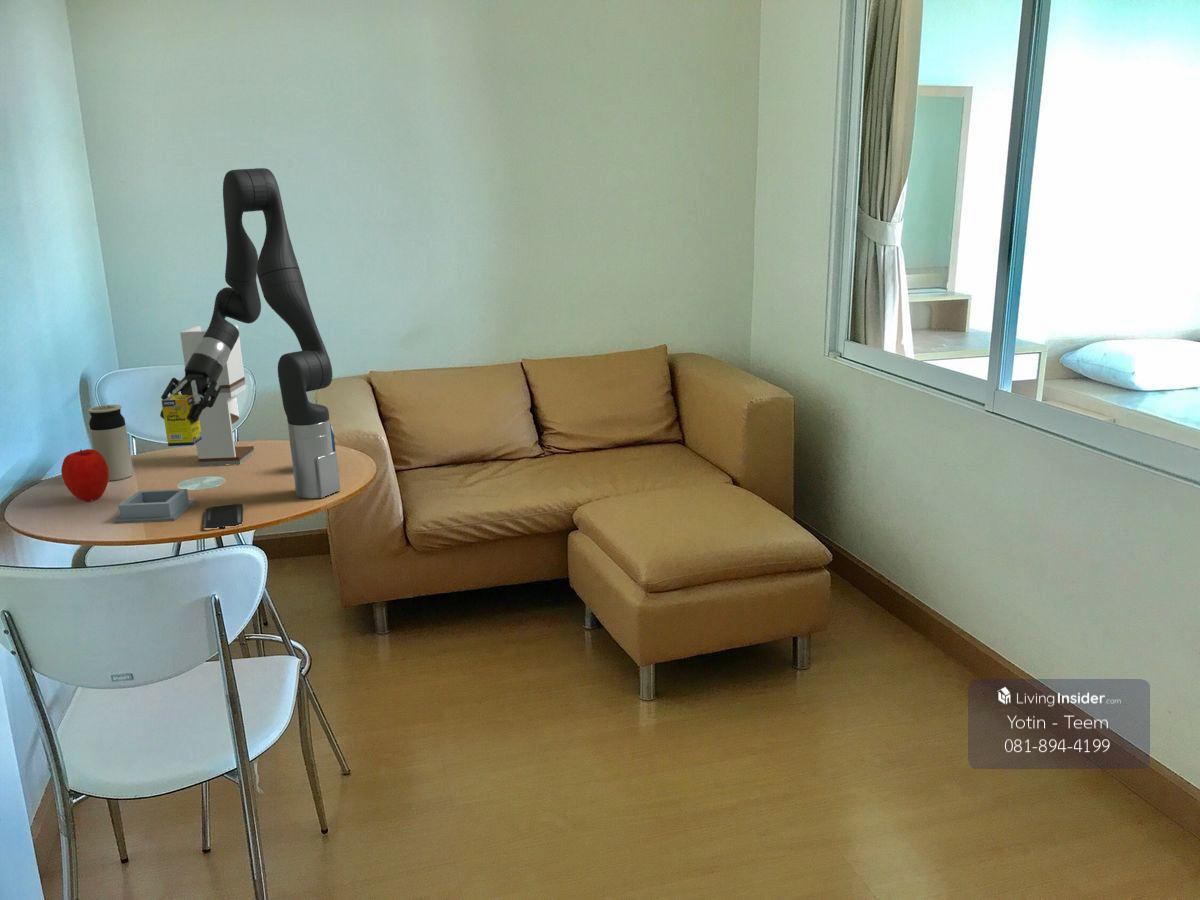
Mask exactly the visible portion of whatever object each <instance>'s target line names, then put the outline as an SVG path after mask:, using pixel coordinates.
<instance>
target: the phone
mask: <svg viewBox="0 0 1200 900" xmlns="http://www.w3.org/2000/svg"><path fill="white" fill-rule="evenodd" d="M204 511H205V512H204V519H203V529H204V528H217V527H222V528H224V527H223V526H236V525H239V524H242V522H243V523H244V505H243V504H242V503H234V504H233V503H232V504H226V505H224V504H223V505H218V506H210V507H207V508H205V510H204Z"/></svg>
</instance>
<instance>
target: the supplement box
mask: <svg viewBox="0 0 1200 900" xmlns="http://www.w3.org/2000/svg"><path fill="white" fill-rule="evenodd" d="M170 395H171V394H170ZM170 395H169V396H170ZM169 396H168V398H166V399H164V400H163V399H161V400H160V401H161V407H162V409H163V415H164V419H163V420H164V427H165V433H166V441H167V445H168V447H181V446H182V447H183V446H185V447H187V446H188V447H189V446H194V445H196V443H197V442H198V441H200V440H201V439H202V434H201V427H200V420H199V418H198V419H197V420H196V422H195V423H192V422H190V421H189V420H188V419H187V416H188V414H189V412H190V410H191V408H192V406H193V404H194V405H196V404H195V398H194V396H193V395H182V394H180V395H171V396H170V397H169ZM162 409H161V410H162Z"/></svg>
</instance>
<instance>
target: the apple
mask: <svg viewBox="0 0 1200 900" xmlns="http://www.w3.org/2000/svg"><path fill="white" fill-rule="evenodd" d="M60 471H61V473H60V474H61V478H62V481H63V483H64V485H65V487H66V488H67V490H68V491H69V493H71V494H72V495H73V496H74V497H75V498H77V499H78V500H81V501H84V502H92V501H91V500H93V501H96V500H98V499H100V498H101V497H102V496H103V495H104V493H105V492H106V489H107V487H108V483H109V481H108V480H109V469H108V465H107V463H106V461H105V459H104V457H103V456H102V455H101V454H100V453H99V452H98V451H95V450H94V449H93V448H92V449H90V448H86V449H83V450H82V448H80V449H79V451H74V452H71V453H69V454H67V455H66V456H65V457H64V458H63V461H62V464H61V470H60Z"/></svg>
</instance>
